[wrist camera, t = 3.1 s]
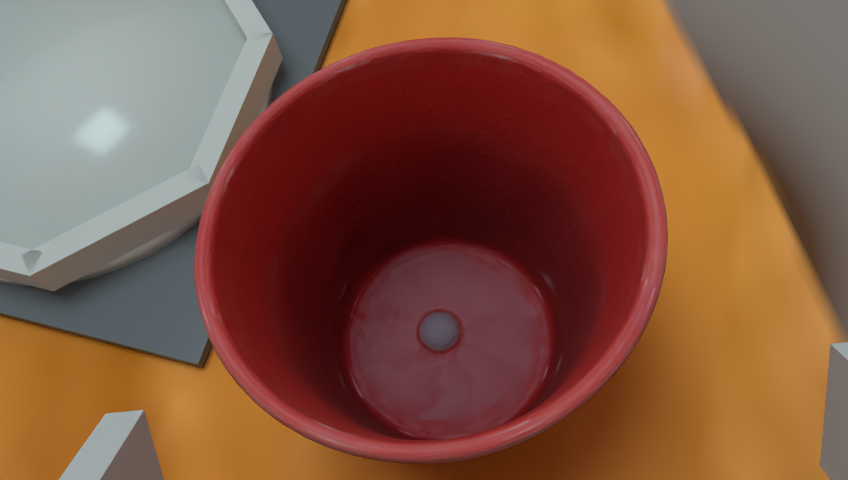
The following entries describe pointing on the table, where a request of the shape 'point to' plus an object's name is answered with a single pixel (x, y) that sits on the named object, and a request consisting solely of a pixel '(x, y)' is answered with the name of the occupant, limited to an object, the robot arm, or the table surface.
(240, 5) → the grey octagonal tray
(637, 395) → the table surface
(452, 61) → the flower pot
